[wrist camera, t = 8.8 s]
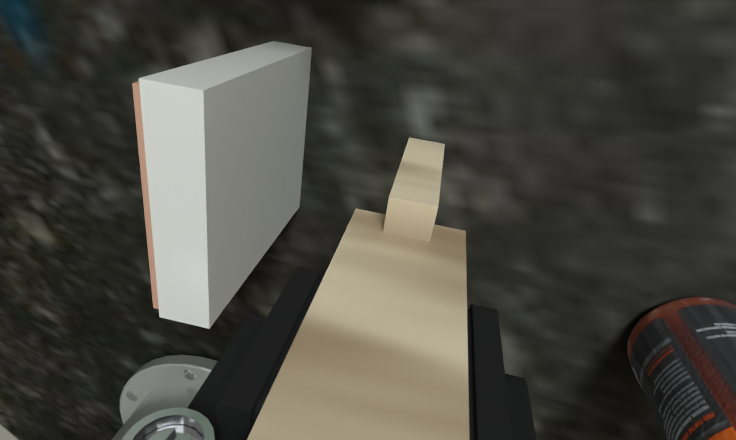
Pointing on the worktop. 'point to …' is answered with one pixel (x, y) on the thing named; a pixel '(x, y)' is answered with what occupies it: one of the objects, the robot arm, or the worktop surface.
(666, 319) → the supplement bottle
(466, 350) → the wooden block with tab
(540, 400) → the worktop surface
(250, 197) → the tile
